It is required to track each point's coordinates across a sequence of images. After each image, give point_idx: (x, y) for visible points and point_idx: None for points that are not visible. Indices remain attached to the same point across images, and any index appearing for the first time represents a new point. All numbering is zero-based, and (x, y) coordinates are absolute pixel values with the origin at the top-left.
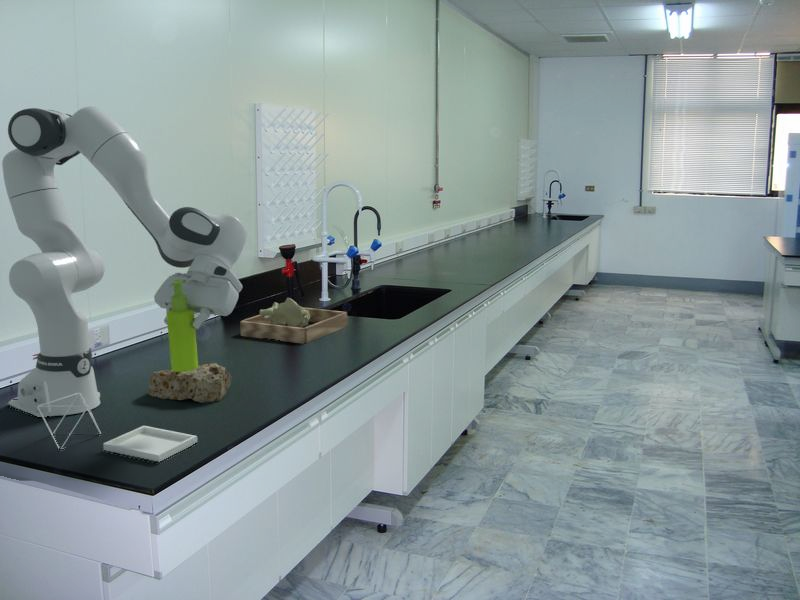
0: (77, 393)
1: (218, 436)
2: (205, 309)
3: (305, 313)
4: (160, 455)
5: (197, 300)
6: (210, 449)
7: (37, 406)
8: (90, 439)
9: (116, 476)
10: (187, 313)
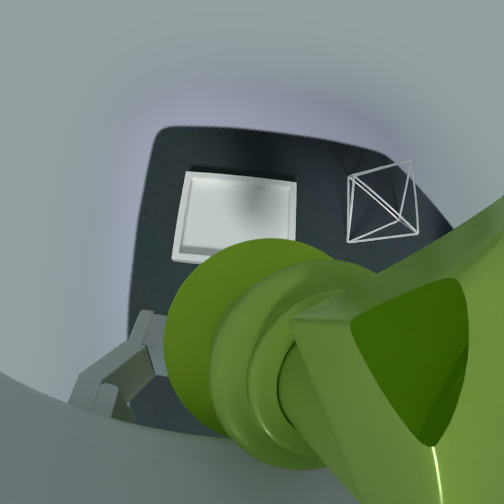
0: (417, 229)
1: (159, 303)
2: (74, 396)
3: None
4: (185, 175)
5: (148, 471)
6: (143, 248)
7: (411, 161)
8: (345, 221)
9: (218, 132)
10: (172, 305)
